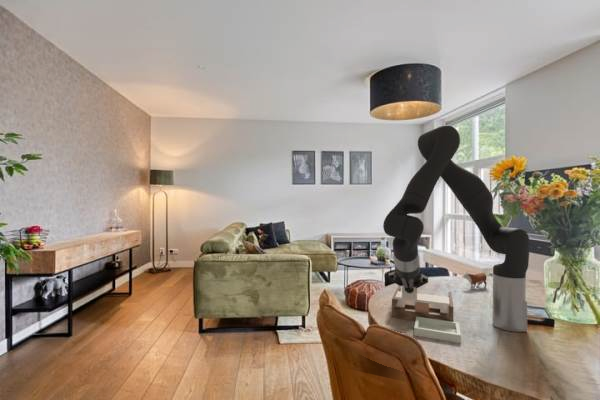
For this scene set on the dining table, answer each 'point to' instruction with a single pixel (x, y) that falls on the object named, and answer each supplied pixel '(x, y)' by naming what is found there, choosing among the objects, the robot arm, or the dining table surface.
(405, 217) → the robot arm
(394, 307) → the brown wooden box
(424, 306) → the terracotta block
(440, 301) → the cover
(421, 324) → the sage tray
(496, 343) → the dining table surface
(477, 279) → the bull figurine
